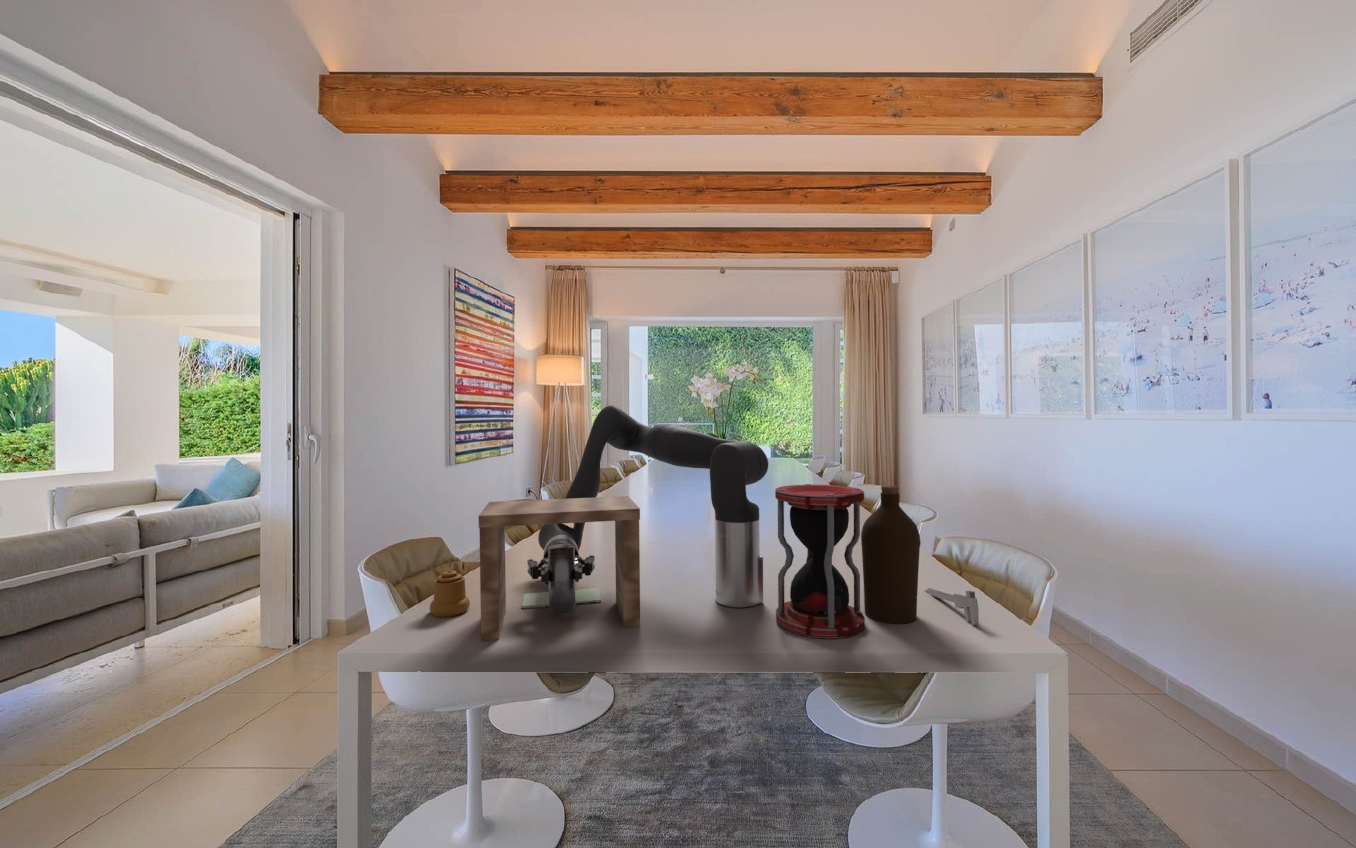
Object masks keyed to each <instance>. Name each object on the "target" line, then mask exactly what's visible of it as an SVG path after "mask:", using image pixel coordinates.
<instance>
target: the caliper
mask: <svg viewBox="0 0 1356 848" xmlns="http://www.w3.org/2000/svg"><path fill="white" fill-rule="evenodd" d="M924 592H926V593H927V594H928V595H930V596H931V597H935V598H939V599H940V600H941V599H942V600H945V601H948V602H950V603H952V604H953V603H954V607H955V608H958V609H963V611H964V612H963V613H964V617H965V620H966V622H967V623H968V624H971V626H979V625H980V623H979V621H980V620H979V619H980V618H979V613H980V612H979V603H978V598H977V597H976V593H975V592H976V591H974V590H973V591H972V590H965V594H963V593H959V592H954V593H952V592H949V591H945V590H941V589H938V588H935V587H927V589H925V590H924Z"/></svg>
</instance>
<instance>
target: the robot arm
mask: <svg viewBox="0 0 1356 848" xmlns="http://www.w3.org/2000/svg"><path fill="white" fill-rule="evenodd" d="M607 444H609V445H610V446H611V447H613V448H615V449H617V450H622V451H629V452H634V453H640V454H643V455H645V456H647V457H649V458H652V459H654V460H657V461H659V462H662V463H665V464H668V465H672V466H676V467H681V468H689V469H690V468H691V469H703V470H704V469H705V470H706V469H707V470H709V482H710V483H709V484H710V500H711V504H712V505H711V506H712V508H713V511H714V519H715V520H714V525H715V527H714V530H715V531H714V533H715V535H714V537H715V540H714V542H715V544H714V545H715V552H714V553H715V555H714V557H715V560H714V561H715V591H714V593H715V601H716V603H718V604H719V605H722V606H725V607H729V608H747V607H753V606H756V605H759V604H763V603H764V557H763V556H762V555H761V553H760V551H761V550H760V549H761V548H760V507H759V505H758V504H756V503H755V502H752V501H750V500H749V498H748V496H747V487H746V486H750V485H753V484H756V483H758V482H759V481H761V480H762V479H763V478H764V477H765V476H766V474H767V473H768V470H769V460H768V456H767V454H766V453H765V451H764V450H763V449H762V448H761V447H760V446H759V445H758V444H756V443H754V442H751V441H744V440H743V441H742V440H733V439H732V440H731V439H725V438H719V437H715V436H712V435H709V434H707V433H704V432H700V431H697V430H694V429H691V428H686V427H685V426H681V425H675V424H672V423H661V424H659V423H658V424H656V425H654V426H648V425H647V424H646V425H645V424H644V423H641V422H639V421H638V420H636V419H634V417H631V416H630V415H629V414H628V413H626V412H625V411H623V409H621V408H619V407H618V406H616V405H613V404H610V405H607V406H605V407H603V408H602V409H601V410H600V411H599V412H598V413H597V415H596V417H595V419H594V421H593V423H592V426H591V429H590V432H589V435H588V439H587V441H586V444H585V447H584V450H583V454H582V457H581V460H580V463H579V466H578V468H577V472H576V474H575V476H574V478H573V481H572V483H571V485H570V486H569V489H568V491H567V493H566V495H565V497H564V499H572V498H597V496H598V494H599V490H600V486H601V465H602V464H601V463H602V455H603V452H604V450H605V447H606V445H607ZM585 524H586V522H581V523H573V527H571V526H569V525H566V523H560V524H542V526H541V527H540V530H539V532H538V535H537V536H538V539H537V540H538V544H539V547H540V548H541V549H542V551H543V555H542V556H543V557H542V559H541V560H540V561H537V560H534V559H532V558H530V559H527V574H528V575H529V576H530V577H531V579H532V580H538V579H539V578H540V582H542V583H544V585H549V569H548V547H549V546H552V545H557V544H571V545H574V546H575V583H579V582H580V580H582V579H583V575H584V576H586V577H587V576H591V575H592V573H593V571H594V569H595V567H596V566H595V565H596V561H595V555H593V554H591V555H588V556H587V557H585V559H583V557H582V556H580V553H579V551H580V548H581V546H582V541H583V536H584V535H583V534H584V529H585Z"/></svg>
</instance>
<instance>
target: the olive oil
mask: <svg viewBox="0 0 1356 848" xmlns="http://www.w3.org/2000/svg"><path fill="white" fill-rule="evenodd" d="M880 488H881V492H880V505H879V507H878V508H877V509H876V510H875V511H874V512H872V514H871V515H869V516H868V518H867V519H866V520H865V521H864V523H863V525H862V528H861V531H860V541H861V542H860V543H861V554H862V555H861V558H862V559H861V561H862V576H863V577H862V578H863V599H864V600H863V602H864V605H863V606H864V608H863V609H864V614H865V615H866V616H867V617H869V618H871V619H872V620H875V621H877V622H881V623H887V624H899V625H900V624H908V623H909V624H910V623H912V622H915V620H916V619H917V617H918V616H917V614H918V613H917V611H918V586H919V567H920V566H919V565H920V552H921V551H920V549H921V543H922V542H921V536H920V532H919V529H918V527H917V524H916V523H915V522H914V521H913V520H912V518H911V517H910V516H909V515H908V514H907V513H906V512H905V511H904V510H903V508H902V507H901V506H900V493H899V489H900V487H899V486H898V485H891V484H890V485H889V484H887V485H886V484H885V485H881V487H880Z"/></svg>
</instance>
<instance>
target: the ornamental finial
mask: <svg viewBox="0 0 1356 848" xmlns="http://www.w3.org/2000/svg"><path fill="white" fill-rule="evenodd" d="M470 606H471V602H470V599H469V597H468V596H467V594H466V579H465V576H463V575H462V574H461V573H458V572H457V570H454V569H453V570H446V571H443V572H442V573H441V574H440V575H439V576H437V578H436V579H434V581H433V600H432V601H431V602H430V605H429V611H430V614H432V616H435V617H437V618H448V617H450V618H451V617H456V616H459V615H461V614H464V613H465V612H467V610H469V608H470Z"/></svg>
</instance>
